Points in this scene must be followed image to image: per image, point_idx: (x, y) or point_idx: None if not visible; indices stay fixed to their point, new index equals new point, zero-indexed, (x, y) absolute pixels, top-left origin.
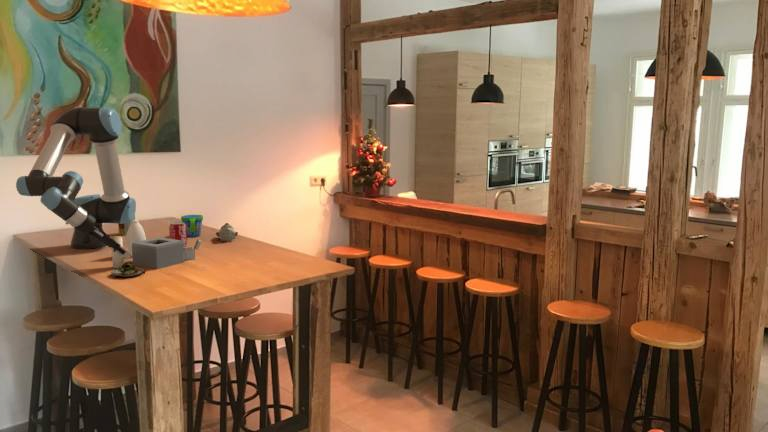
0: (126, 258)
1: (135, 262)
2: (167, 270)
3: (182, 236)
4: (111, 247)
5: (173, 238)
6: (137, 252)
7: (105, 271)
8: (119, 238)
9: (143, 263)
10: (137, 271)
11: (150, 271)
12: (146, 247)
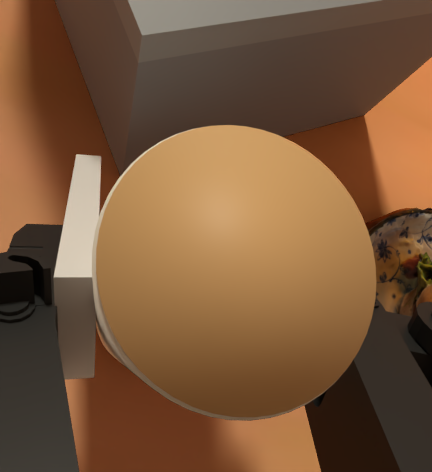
0: None
1: None
2: (420, 87)
3: None
4: (64, 364)
5: None
6: (218, 96)
7: (232, 466)
8: (359, 238)
9: None
10: (424, 257)
11: (400, 172)
12: (386, 19)
